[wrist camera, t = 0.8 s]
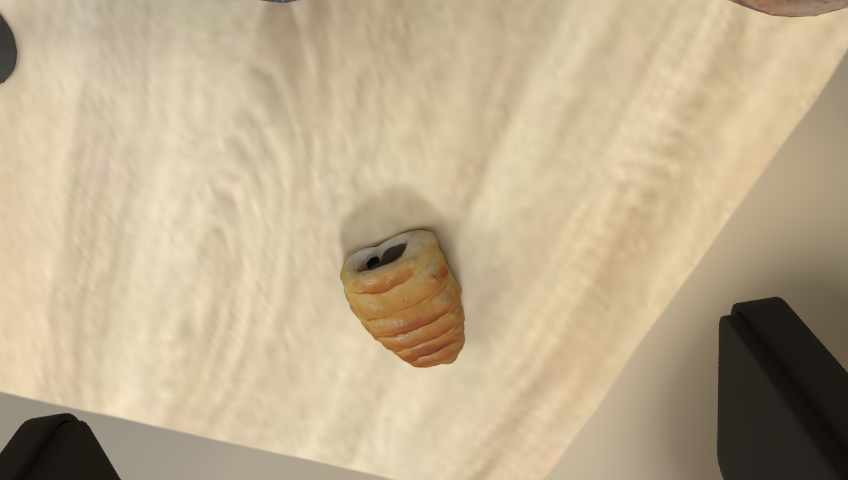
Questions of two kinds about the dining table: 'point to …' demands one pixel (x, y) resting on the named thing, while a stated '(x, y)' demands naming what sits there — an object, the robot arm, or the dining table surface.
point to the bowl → (280, 1)
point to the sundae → (6, 52)
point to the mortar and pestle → (794, 6)
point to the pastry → (407, 298)
